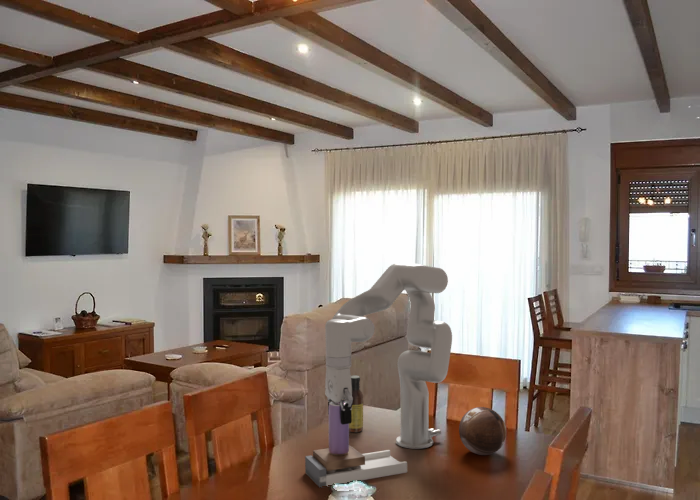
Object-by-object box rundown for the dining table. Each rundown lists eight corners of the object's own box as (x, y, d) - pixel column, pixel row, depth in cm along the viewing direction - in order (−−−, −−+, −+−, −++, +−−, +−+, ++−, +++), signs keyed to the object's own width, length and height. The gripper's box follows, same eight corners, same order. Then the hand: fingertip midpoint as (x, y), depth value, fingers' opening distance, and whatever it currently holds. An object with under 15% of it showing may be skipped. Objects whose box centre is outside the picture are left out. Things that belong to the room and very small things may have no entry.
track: (388, 459, 199) (388, 443, 199) (407, 472, 188) (407, 455, 188) (305, 472, 187) (305, 456, 187) (319, 487, 176) (319, 470, 176)
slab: (349, 460, 193) (349, 444, 193) (365, 472, 183) (364, 456, 182) (313, 466, 188) (313, 450, 188) (326, 479, 178) (326, 462, 178)
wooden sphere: (449, 452, 205) (449, 406, 204) (480, 443, 214) (480, 399, 214) (485, 465, 193) (485, 417, 193) (516, 455, 202) (516, 408, 202)
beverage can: (347, 456, 182) (346, 405, 182) (326, 455, 183) (326, 404, 183) (350, 450, 188) (350, 400, 188) (330, 449, 189) (330, 399, 189)
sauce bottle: (347, 427, 232) (347, 374, 231) (364, 428, 231) (364, 374, 230) (344, 433, 225) (344, 378, 225) (361, 433, 224) (361, 378, 224)
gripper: (316, 357, 191) (317, 412, 192) (338, 368, 175) (339, 429, 176) (339, 354, 194) (340, 409, 195) (362, 366, 178) (363, 425, 179)
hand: (339, 418), depth 185 cm, fingers open, 9 cm apart
